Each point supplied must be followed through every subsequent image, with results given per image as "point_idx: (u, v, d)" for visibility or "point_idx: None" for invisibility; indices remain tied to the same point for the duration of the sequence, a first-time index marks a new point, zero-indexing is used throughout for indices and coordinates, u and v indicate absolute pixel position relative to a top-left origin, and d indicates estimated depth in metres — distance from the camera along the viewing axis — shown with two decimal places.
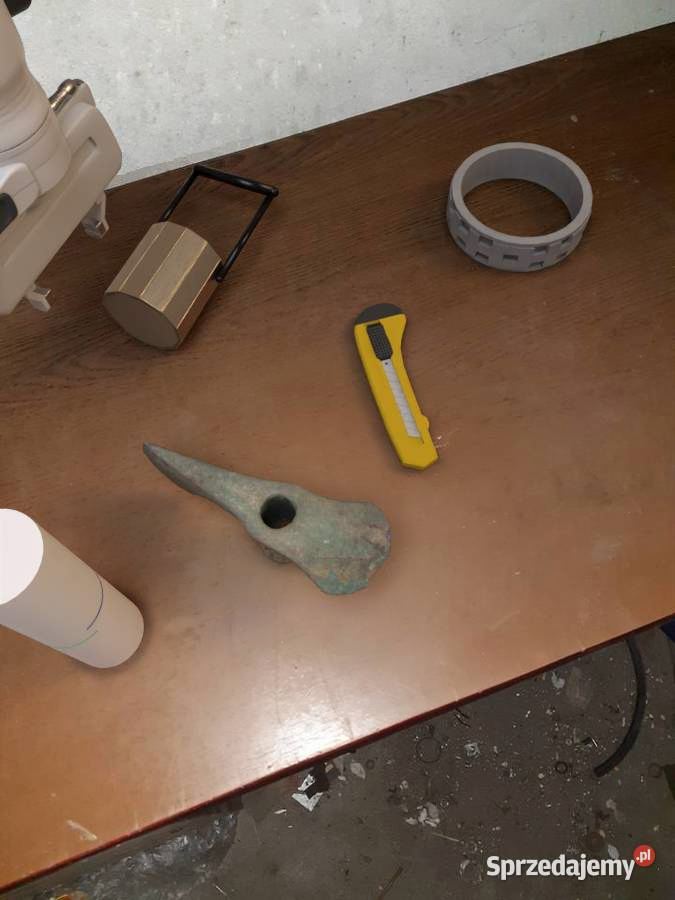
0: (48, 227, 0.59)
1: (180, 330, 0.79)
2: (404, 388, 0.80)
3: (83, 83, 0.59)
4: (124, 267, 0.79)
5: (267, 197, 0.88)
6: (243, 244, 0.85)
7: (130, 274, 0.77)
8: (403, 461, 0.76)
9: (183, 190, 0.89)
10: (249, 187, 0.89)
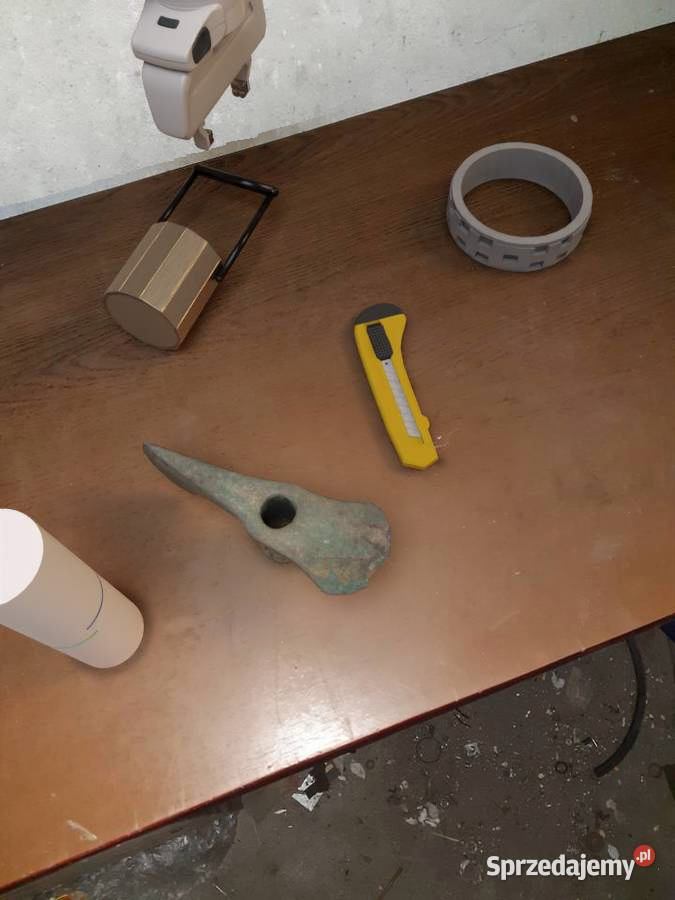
0: (219, 72, 0.74)
1: (180, 330, 0.79)
2: (404, 388, 0.80)
3: None
4: (124, 267, 0.79)
5: (267, 197, 0.88)
6: (243, 244, 0.85)
7: (130, 274, 0.77)
8: (403, 461, 0.76)
9: (183, 190, 0.89)
10: (249, 187, 0.89)
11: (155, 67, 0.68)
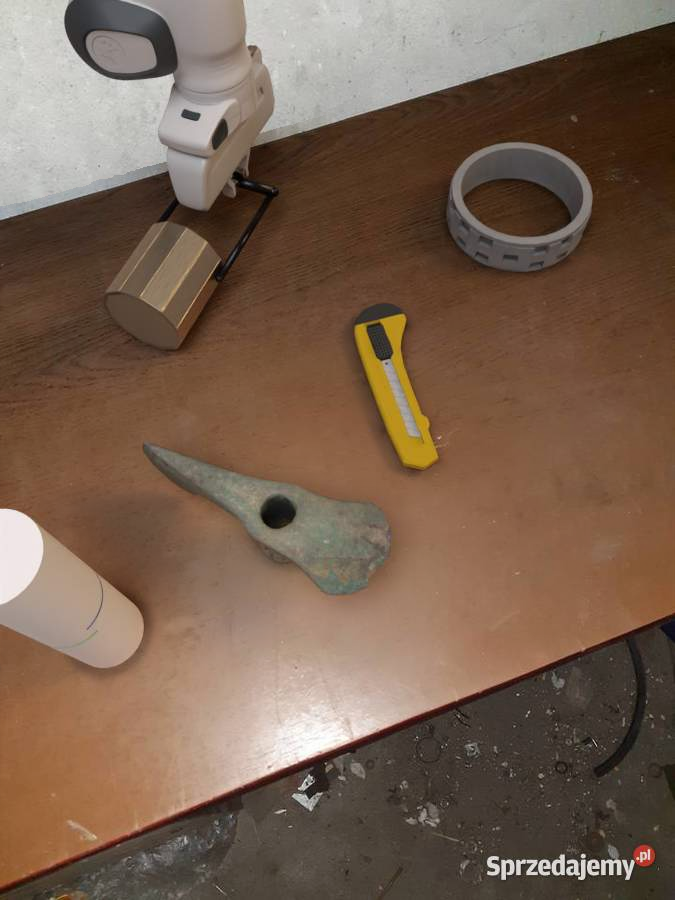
0: (234, 150, 0.83)
1: (180, 330, 0.79)
2: (404, 388, 0.80)
3: (258, 48, 0.83)
4: (124, 267, 0.79)
5: (267, 197, 0.88)
6: (243, 244, 0.85)
7: (130, 274, 0.77)
8: (403, 461, 0.76)
9: None
10: (249, 187, 0.89)
11: (178, 152, 0.77)
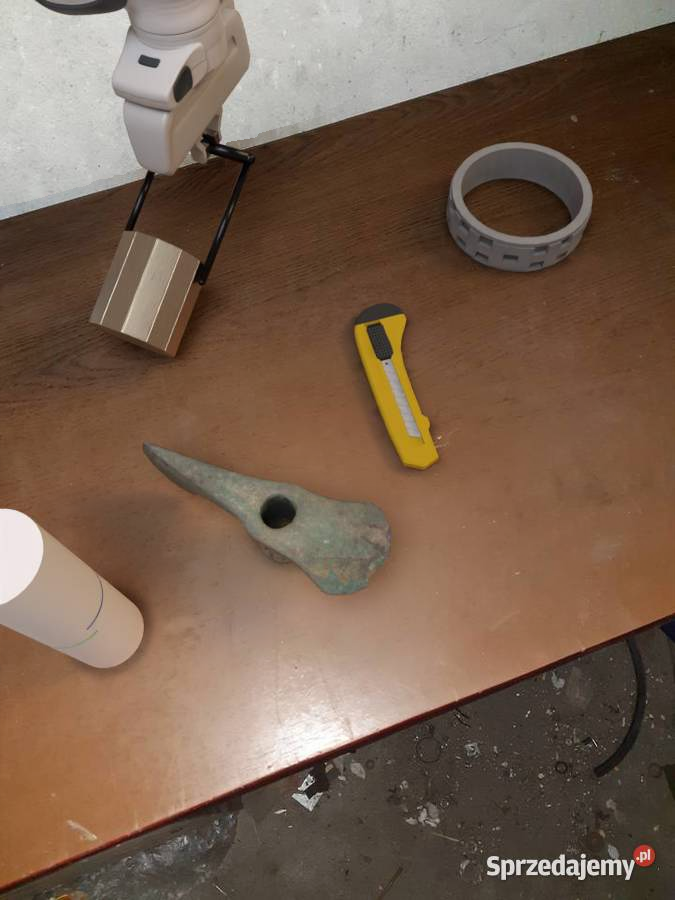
0: (202, 107, 0.73)
1: (169, 349, 0.78)
2: (404, 388, 0.80)
3: None
4: (102, 290, 0.77)
5: (243, 169, 0.79)
6: (222, 235, 0.79)
7: (109, 303, 0.75)
8: (404, 461, 0.76)
9: None
10: (222, 155, 0.80)
11: (136, 105, 0.67)
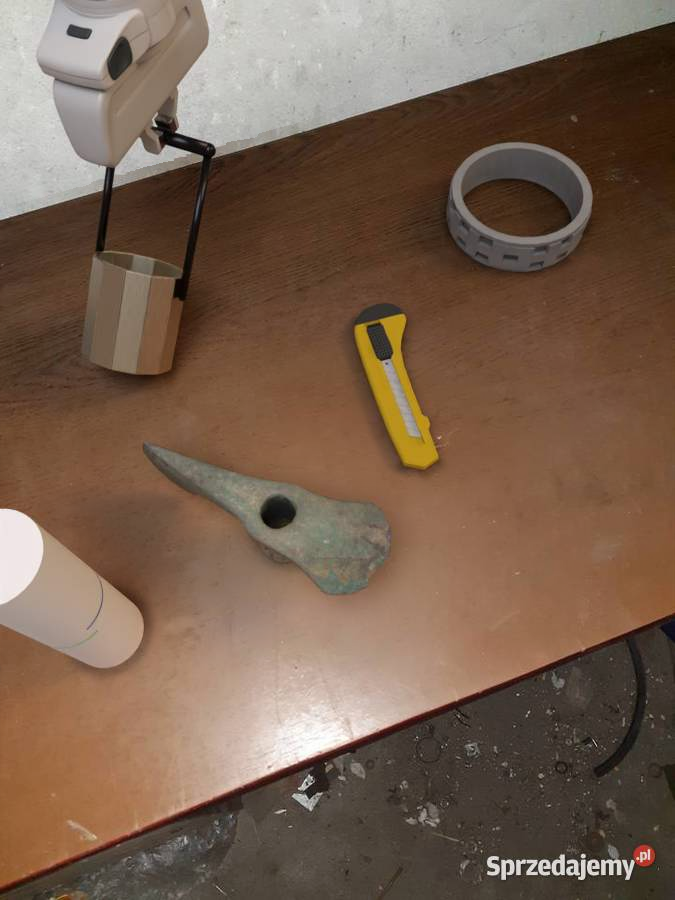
0: (150, 88, 0.64)
1: (163, 369, 0.79)
2: (404, 388, 0.80)
3: None
4: (86, 321, 0.76)
5: (203, 165, 0.70)
6: (194, 245, 0.73)
7: (93, 340, 0.75)
8: (404, 461, 0.76)
9: None
10: (180, 148, 0.71)
11: (67, 84, 0.58)
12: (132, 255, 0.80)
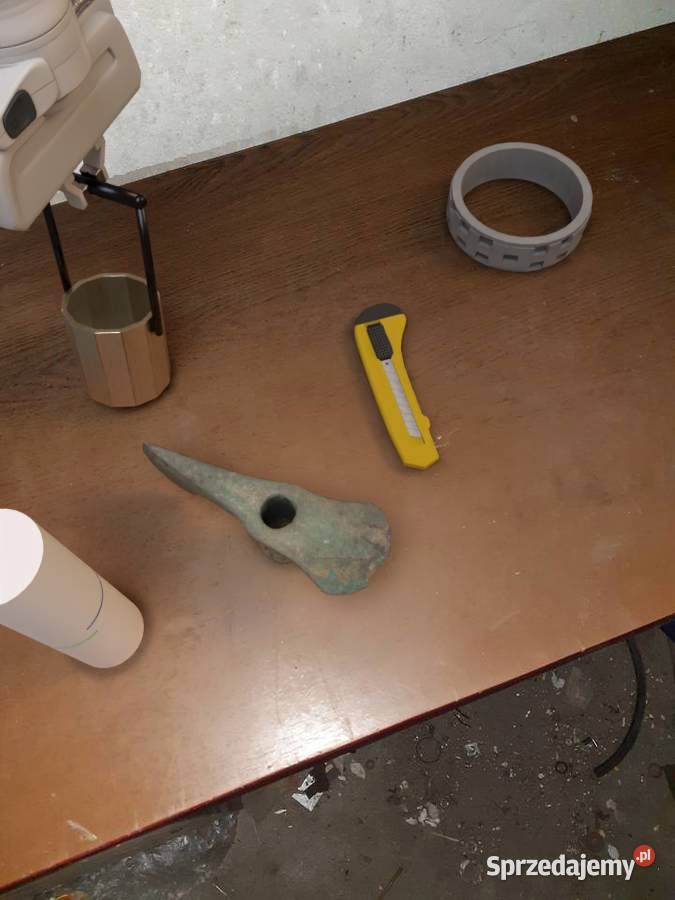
0: (66, 140, 0.56)
1: (161, 389, 0.80)
2: (405, 388, 0.80)
3: None
4: (76, 363, 0.77)
5: (138, 218, 0.63)
6: (154, 289, 0.69)
7: (88, 383, 0.77)
8: (404, 461, 0.76)
9: (47, 213, 0.67)
10: None
11: None
12: (101, 277, 0.76)
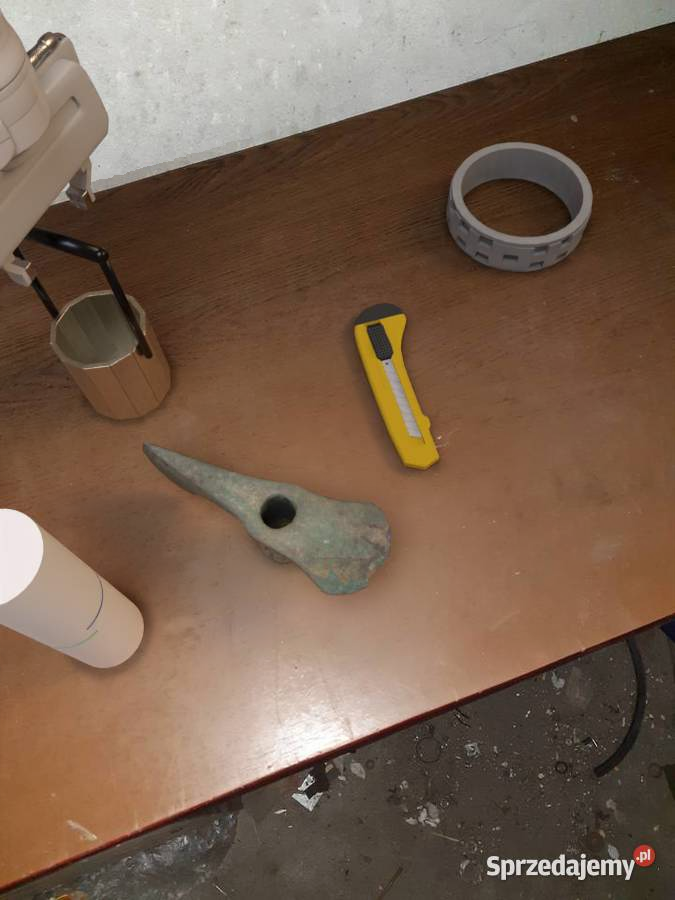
0: (27, 193, 0.54)
1: (162, 397, 0.81)
2: (405, 388, 0.80)
3: (65, 38, 0.54)
4: None
5: (103, 270, 0.61)
6: (135, 323, 0.68)
7: (90, 401, 0.79)
8: (404, 461, 0.76)
9: None
10: None
11: None
12: (87, 297, 0.75)
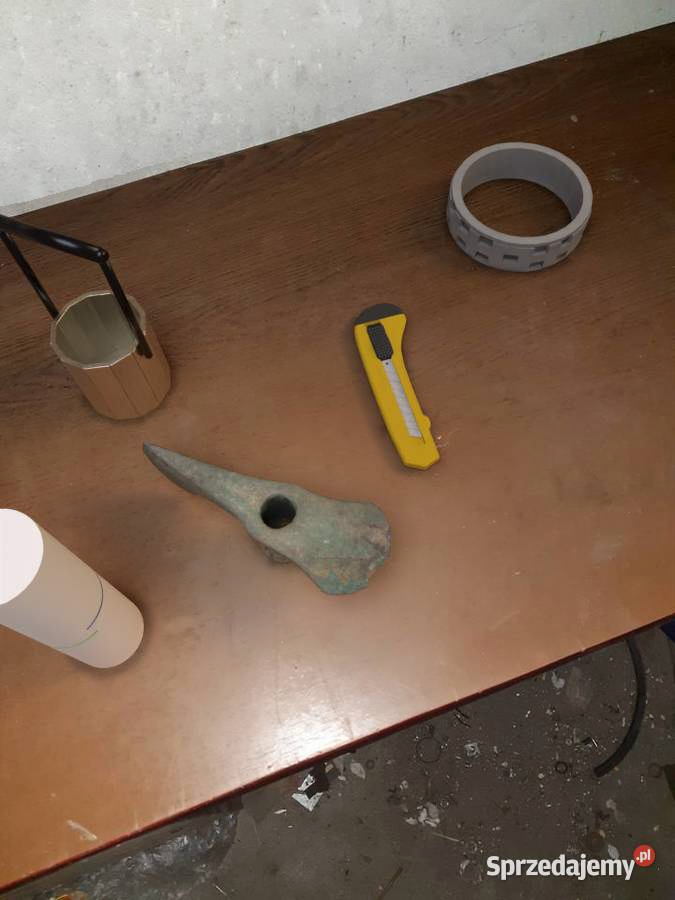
0: None
1: (162, 397, 0.81)
2: (405, 388, 0.80)
3: None
4: None
5: (103, 270, 0.61)
6: (135, 323, 0.68)
7: (90, 401, 0.79)
8: (405, 461, 0.76)
9: (17, 257, 0.66)
10: None
11: None
12: (87, 297, 0.75)
